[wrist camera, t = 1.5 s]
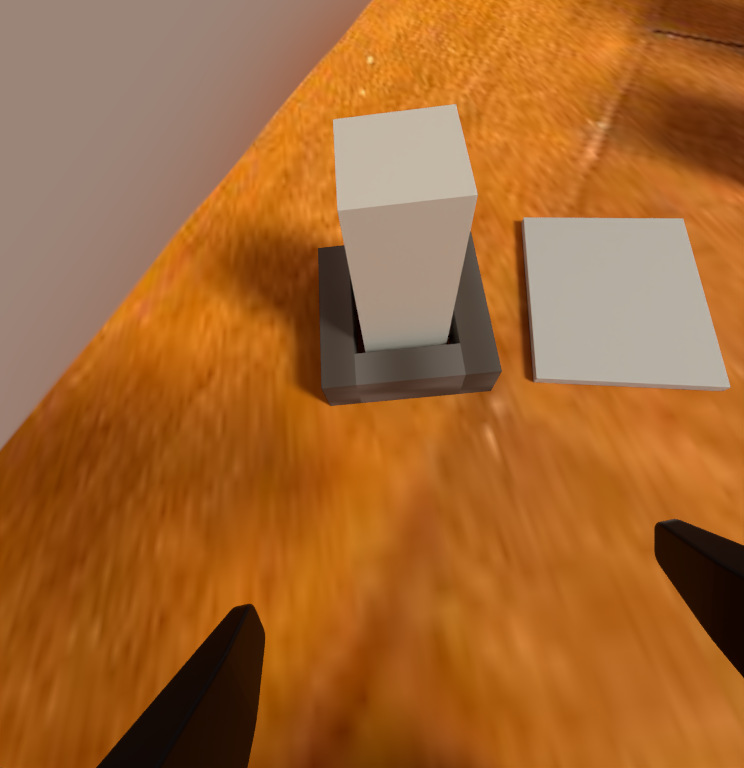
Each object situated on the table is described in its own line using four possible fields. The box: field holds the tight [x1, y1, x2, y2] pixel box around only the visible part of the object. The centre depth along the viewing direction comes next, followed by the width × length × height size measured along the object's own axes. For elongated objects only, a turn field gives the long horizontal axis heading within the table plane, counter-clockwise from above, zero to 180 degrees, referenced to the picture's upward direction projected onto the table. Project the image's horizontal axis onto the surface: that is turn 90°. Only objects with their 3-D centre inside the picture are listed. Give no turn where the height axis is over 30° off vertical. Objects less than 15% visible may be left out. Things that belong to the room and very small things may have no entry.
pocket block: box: [318, 231, 502, 406], centre depth 25 cm, size 10×10×3 cm
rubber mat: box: [522, 218, 730, 391], centre depth 26 cm, size 11×13×1 cm
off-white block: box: [333, 104, 478, 353], centre depth 21 cm, size 5×5×13 cm
